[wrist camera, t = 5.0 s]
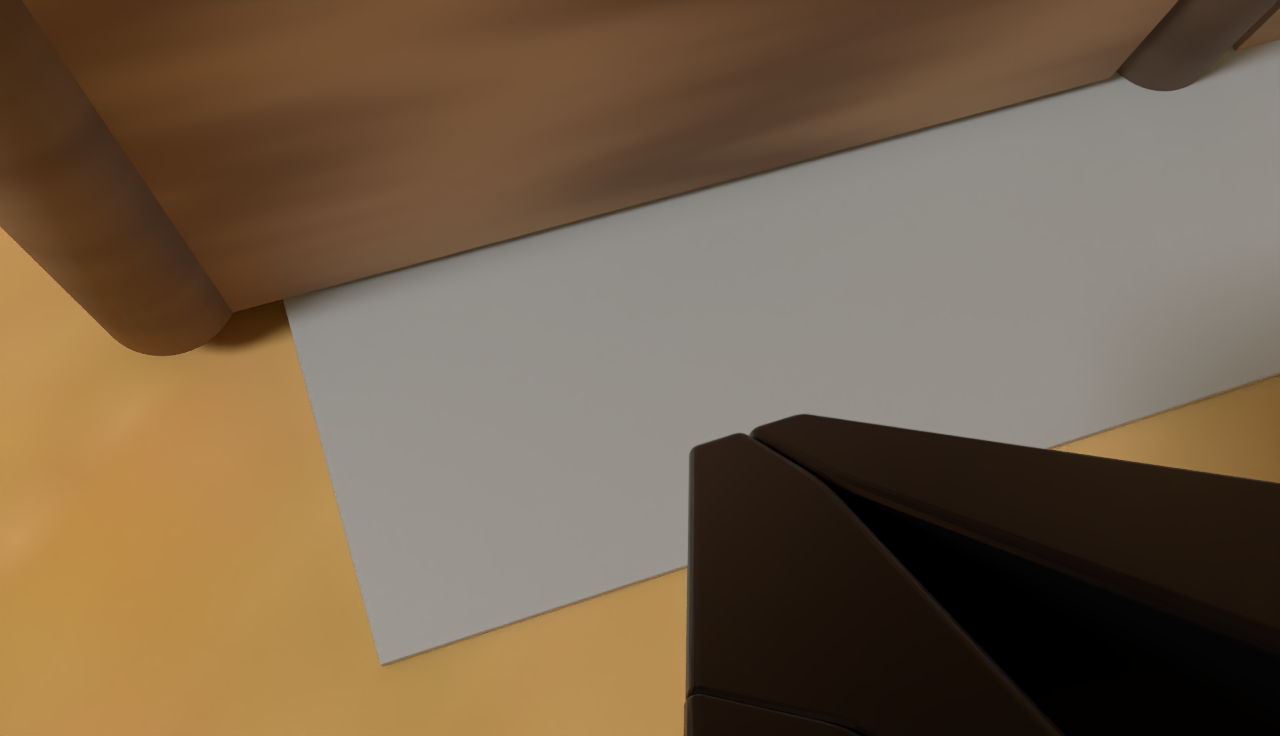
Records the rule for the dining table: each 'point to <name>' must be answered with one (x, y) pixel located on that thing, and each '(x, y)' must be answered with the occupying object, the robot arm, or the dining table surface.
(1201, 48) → the fence fixed
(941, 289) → the card
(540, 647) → the dining table surface
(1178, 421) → the dining table surface
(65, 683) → the dining table surface
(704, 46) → the fence panel
